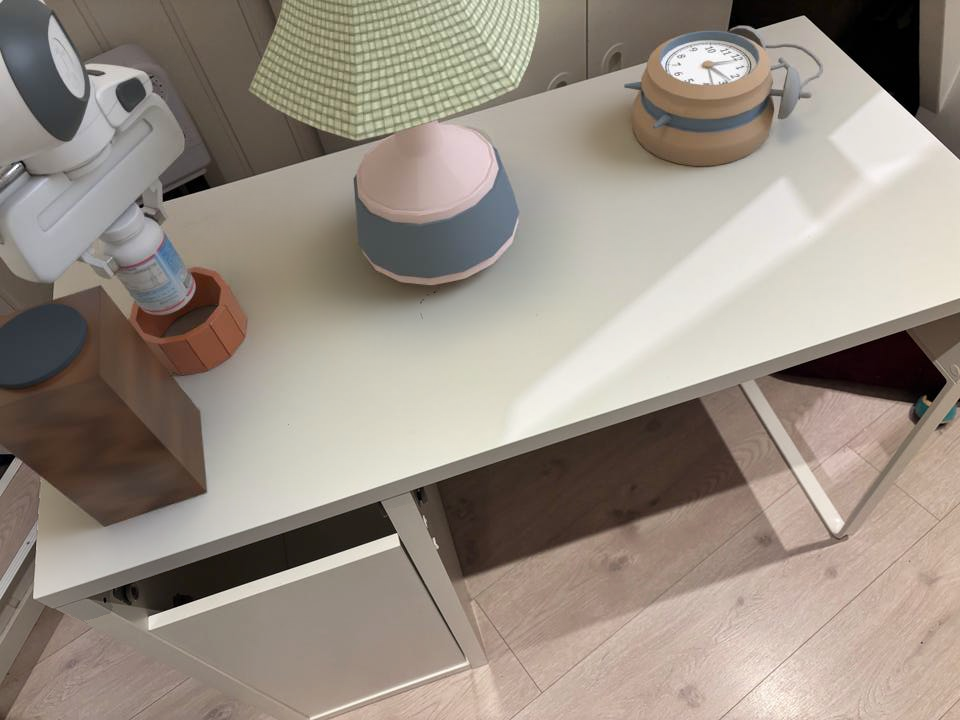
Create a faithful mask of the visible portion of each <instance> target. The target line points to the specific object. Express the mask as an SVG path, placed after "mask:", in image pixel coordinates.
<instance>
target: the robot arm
mask: <svg viewBox="0 0 960 720" xmlns="http://www.w3.org/2000/svg"><path fill="white" fill-rule="evenodd" d="M69 35H70V34H68V32H67V30H66V29H65V27H64V25H63V24H62V22H61V20H60V18H59V16H58V14H57V13H56V12H55V10H54V9H52V8H51V7H50V6H48V5H47V4H46V2H45V0H0V258H1V260H2V262H4V264H5V265H6V266H7V267H8V269H9V270H10V271H11V272H12V273H13V275H15V276H16V277H18V278H20V279H23V280H26V281H28V282H33V283H37V284H38V283H39V284H54V283H55V282H56V281H58V279H59V278H60V277H61V276H62V275H63V274H64V273H66V272H67V270H68V269H69V268H70V267H71V266H72V265H73V264H74V263H75V262H76V261H78V262H80V263H82V264H87V265H89V266H90V267H91V269H92V270H93V272H94V273H95V274H96V275H97V276H98V277H100V278H103V279H105V280H112V278H114V276H116V273H117V272H118V271H119V270H120V269H121V267H120V266H119V265H118V264H117V262H116V260H115V259H114V257H113V256H109V255H106V256H105V255H104V254H101V253H100V252H98V253H96V250H95V249H94V247H93V246H92V245H93V244H94V243H95V242H96V241H97V240H99V239H98V238H99V237H100V236H101V235H102V234H103V233H104V232H105V230H106V229H107V228H108V227H109V226H110V225H111V224H112V223H113V222H114V221H115V220H116V219H117V218H118V217H119V216H120V215H121V214H122V213H123V212H124V211H125V210H126V209H127V208H128V207H129V206H130V205H131V204H132V203H133V202H136V201H137V199H138V198H139V197H140V196H141V197H142V203H143V207H142V208H140V209H141V211H142V212H143V214H144V217H148V218H151V219H153V220H154V221H156V222H157V223H158V224H159V225H160V227H161V226H162V225H163V224H164V223H165V222H166V221H167V220H168V219H169V218H170V217H169V214H168V212H167V211H166V208H165V207H164V206H163V204H164V200H163V197H164V196H163V184H162V182H161V180H160V176H161V175H162V174H163V173H164V172H165V171H166V170H167V169H168V168H169V167H170V166H171V165H172V164H173V163H174V162H175V161H176V160H177V159H178V158H179V157H180V156H181V155H182V154H183V153H184V151H185V145H186V142H185V141H186V139H185V135H184V132H183V130H182V127H181V126H180V124H179V122H178V121H177V119H176V117H175V115H174V114H173V112H172V110H171V109H170V107H169V105H168V104H167V103H166V101H165V99H163V98H162V97H161V95H159V94H157V93H155V92H153V91H154V87H153V82H152V81H151V79H150V76H149V75H148V73H147V72H145V71H143V70H140V69H137V68H133V67H127V66H122V65H116V64H108V63H107V64H106V63H105V64H104V63H87V64H85V62H84V60H83V58H82V56H81V54H80V53H79V51H78V48H77V47H76V46H75V43H74V42H73V40H72V39H71V37H70V36H69ZM95 253H96V255H95V256H94V254H95Z"/></svg>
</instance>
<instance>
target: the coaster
mask: <svg viewBox="0 0 960 720" xmlns="http://www.w3.org/2000/svg"><path fill="white" fill-rule="evenodd" d="M86 337H87V325H86V322H85V320H84V318H83V317H82V316H81V314H80V313H79V312H78V311H77V310H75V309H74V308H72V307H70V306H67V305H62V304H48V305H42V306H38V307H35V308H32V309H29V310H27V311H25V312H23V313H21V314H19V315H17V316H15V317H14V318H12V319H11V320H9V321H8V322H7V323H5V324H4V325H3V326H2V327H1V328H0V387H4V388H10V389H18V388H26V387H30V386H34V385H36V384H39V383H42V382H44V381H46V380H48V379H50V378H51V377H53V376H55V375H56V374H58V373H59V372H61V371H62V370H63V369H65V368H66V367H67V366H68V365H69V364H70V363H71V362H72V361H73V360H74V359H75V358H76V356H77V355H78V354H79V352H80V351H81V349H82V347H83V345H84V343H85V340H86Z"/></svg>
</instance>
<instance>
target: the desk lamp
mask: <svg viewBox="0 0 960 720" xmlns="http://www.w3.org/2000/svg"><path fill="white" fill-rule="evenodd" d="M539 23H540V0H282V4H281V9H280V13H279V15H278V18H277V21H276V24H275V27H274V29H273V32H272V35H271V37H270V39H269V40H268V41H269V42H268V44H267V46H266V49H265V51H264V53H263V55H262V58H261V60H260V62H259V65H258V66H257V67H258V68H257V70H256V72H255V75H254V77H253V78H252V81H251V82H250V83H251V84H250V86H249V87H248V91H249V92H250V93H252V94H253V95H255V96H256V97H258V98H259V99H260V100H261V101H263V102H265V103H266V104H268V106H271V107H272V108H274V109H275V110H278V111H279V112H281V113H283V114H284V115H287V116H289V117H290V118H293V119H295V120H296V121H299V122H302V123H304V124H306V125H309V126H311V127H314V128H316V129H318V130H319V131H320V130H321V131H324V132H327V133H330V134H333V135H336V136H340V137H342V138H345V139H350V140H352V141H355V142H360V141H365V140H369V139H372V138H378V137H382V136H387V135H389V136H387V137H384V138H383V139H381V140H380V141H379V142H378V143H377V144H375V145H374V146H373V147H372V148H371V149H369V151H368V152H366V153H365V154H364V156H363V158H362V160H361V162H360V163H359V166H358V167H357V170H356V172H355V175H354V177H353V191H354V204H355V217H356V231H357V243H358V244H357V245H358V246H359V247H360V249H361V252H362V254H363V256H364V257H366V259H367V260H368V262H369V263H370V264H371V266H372V267H373V268H374V270H375V271H377V272H379V273H382V274H383V275H385V276H387V277H389V278H391V279H393V280H395V281H398V282H400V283H406V284H414V285H415V284H416V285H425V286H435V285H436V286H437V285H439V284H445V283H450V282H454V281H461V280H464V279H465V280H466V279H467V278H469V277H471V276H473V275H476V273H478V272H480V271H482V270H484V269H486V268H488V267H489V266H491V265H494V264H495V263H496V261H497V260H498V259H499V258H500V257H501V256H502V255H503V254H504V253H505V252H506V250H508V248H510V246H511V245H512V244H513V242H514V238H515V235H516V232H517V230H518V229H517V228H518V225H519V222H520V219H519V215H520V210H519V205H518V203H517V200H516V196H515V192H514V189H513V187H512V184H511V182H510V179H509V177H508V175H507V172H506V169H505V167H504V164H503V161H502V159H501V156H500V153H499V151H498V149H497V148H496V147H495V146H493V144H491V143H490V142H489V141H488V139H486V138H485V137H484V136H483V135H481V134H480V133H479V132H478V131H476V130H473V129H471V128H468V127H464V126H462V125H459V124H456V123H453V124H452V123H451V124H450V123H439V120H442V119H445V118H448V117H450V116H453V115H457V114H460V113H463V112H465V111H468V110H471V109H475V108H477V107H480V106H482V105H484V104H486V103H489V102H491V101H492V100H495V99H497V98H500V97H502V96H504V95H506V94H509V93H511V92H514V91H515V90H516V89H517V88H518V87H519V86H520V83H521V81H522V79H523V76H524V74H525V73H526V70H527V68H528V66H529V63H530V60H531V56H532V53H533V50H534V47H535V43H536V38H537V34H538V28H539ZM390 134H391V135H390Z"/></svg>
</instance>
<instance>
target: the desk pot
mask: <svg viewBox="0 0 960 720" xmlns="http://www.w3.org/2000/svg"><path fill="white" fill-rule="evenodd" d="M187 269H188V270H189V272H190V273H191V275H192V277H193V278H194V281H195V285H196V288H195V292H194V295H193V296H192V298H191V299H190V301H189V302H188V303H187V304H186V305H185V306H183V307H182V308H181V309H179V310H177V311H175V312H173V313H170V314H166V315H153V314H149V313H147V312H145V311H143V310H142V309H141V308H140V307H139V305H138V304H137V303H136V301H135V300H134V301H133V303H132V306H131V310H130V315H129V319H128V320H129V322H130V323H131V324H132V325H133V327H134V328H135V329H136V330H137V332H138V333H139V334H140V336H141V337H142V338H143V339H144V341H145V342H146V343H147V344H148V346H149V347H150V348H151V350H152V351H153V352H154V353H155V355H156V356H157V357H158V358H159V360H160V361H161V362H162V364H163V365H164V366H165V367H166V369H167V370H168V371H169V372H170V373H174V374H178V375H181V376H185V375H193V374H197V373H204V372H208V371H210V370H212V369H214V368H215V367H216V366H218V365H220V364H221V363H223V362H225V361H227V360H228V359H230V358H231V357H232V356H233V355H234V354H235V352H236V351H237V349H238V348H239V347H240V345H241V344H242V342H243V341H244V340H245V338H246V336H247V335H246V334H247V326H248V325H247V324H248V318H247V315H246V313H245V312H244V310H243V309H242V307H241V305H240V304H239V302H238V300H237V298H236V296H235V295H234V293H233V292H232V289H230V287H229V285H228V283H227V282H226V281H225V280H224V278H223V276H221V273H219V272H218V271H216V270H212V269H209V268H204V267H201V266H193V267H187ZM214 305H216V306H217V307H216V308H215V309H214V310H213V311H212V313H211V314H210V315H209V316H208V318H207V319H206V321H205V322H203V323H201V324H200V325H198V326H196V327H194V328H193V329H191V330H189V331H188V332H186V333H184V334H179V335H173V336H167V337H163V336H164V334H165V333H166V331H168V329H169V328H170V326H172V324H173V323H174V322H175V320H176V319H178V318H180V317H181V316H183V315H185V314H187V313H188V312H190V311H192V310H193V309H196V308H201V307H207V306H214Z"/></svg>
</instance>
